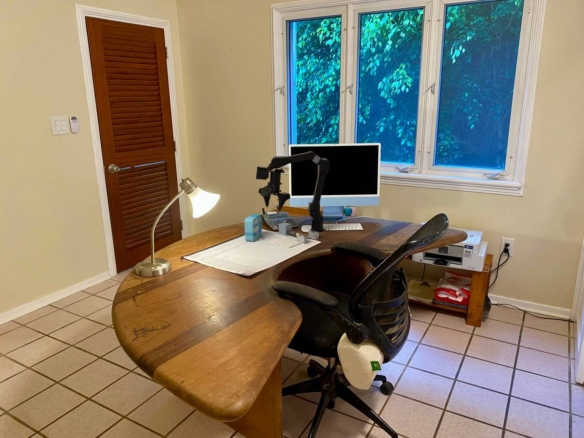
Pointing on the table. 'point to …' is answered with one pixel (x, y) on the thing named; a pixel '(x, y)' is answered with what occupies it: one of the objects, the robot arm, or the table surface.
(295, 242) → the mat
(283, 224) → the plug
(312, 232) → the housing
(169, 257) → the table surface
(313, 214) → the robot arm
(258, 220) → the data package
